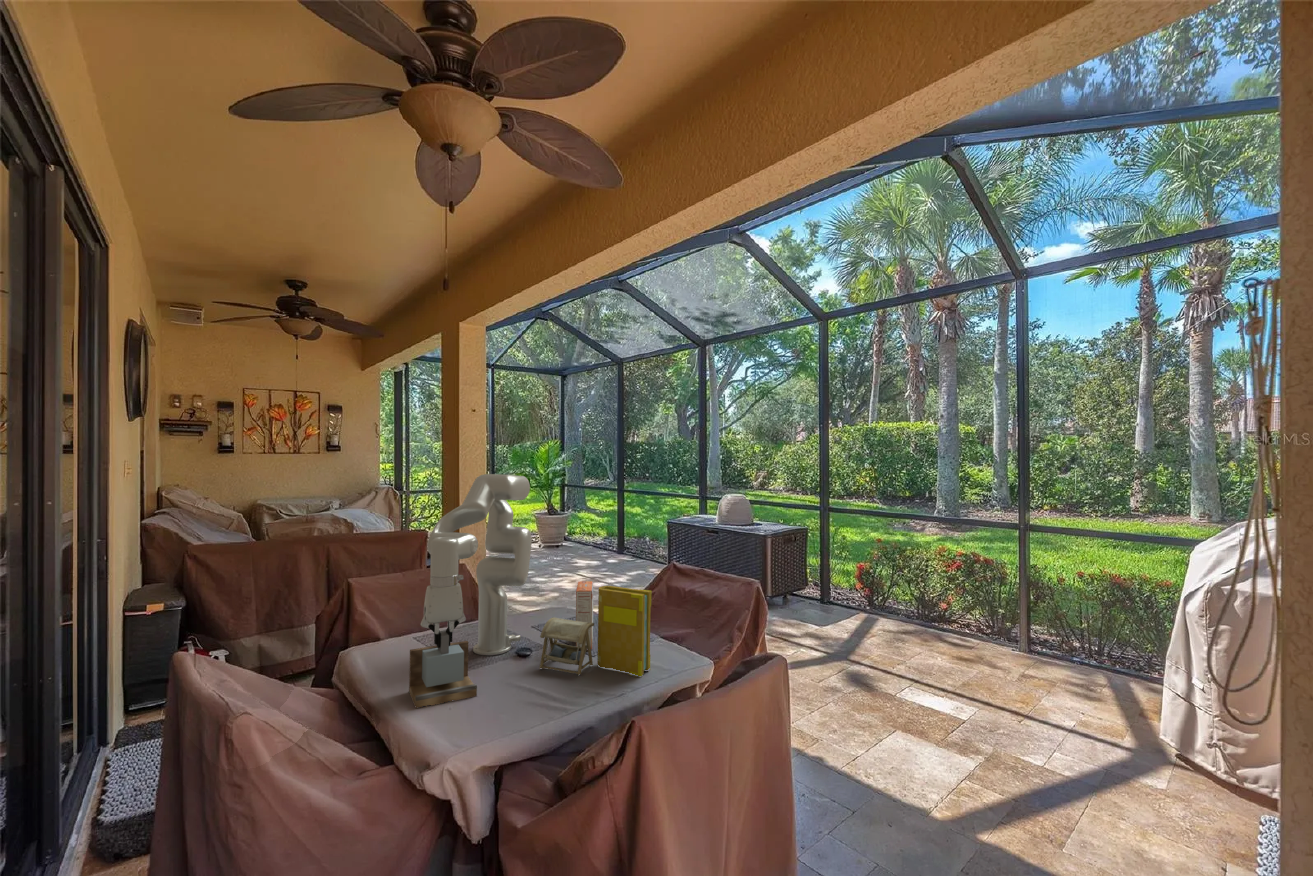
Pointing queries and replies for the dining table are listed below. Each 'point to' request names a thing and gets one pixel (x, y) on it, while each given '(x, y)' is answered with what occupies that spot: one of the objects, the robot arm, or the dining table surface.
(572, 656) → the swing bench
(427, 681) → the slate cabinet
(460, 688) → the cleat board
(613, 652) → the book
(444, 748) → the dining table surface
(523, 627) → the dining table surface
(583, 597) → the cracker box
